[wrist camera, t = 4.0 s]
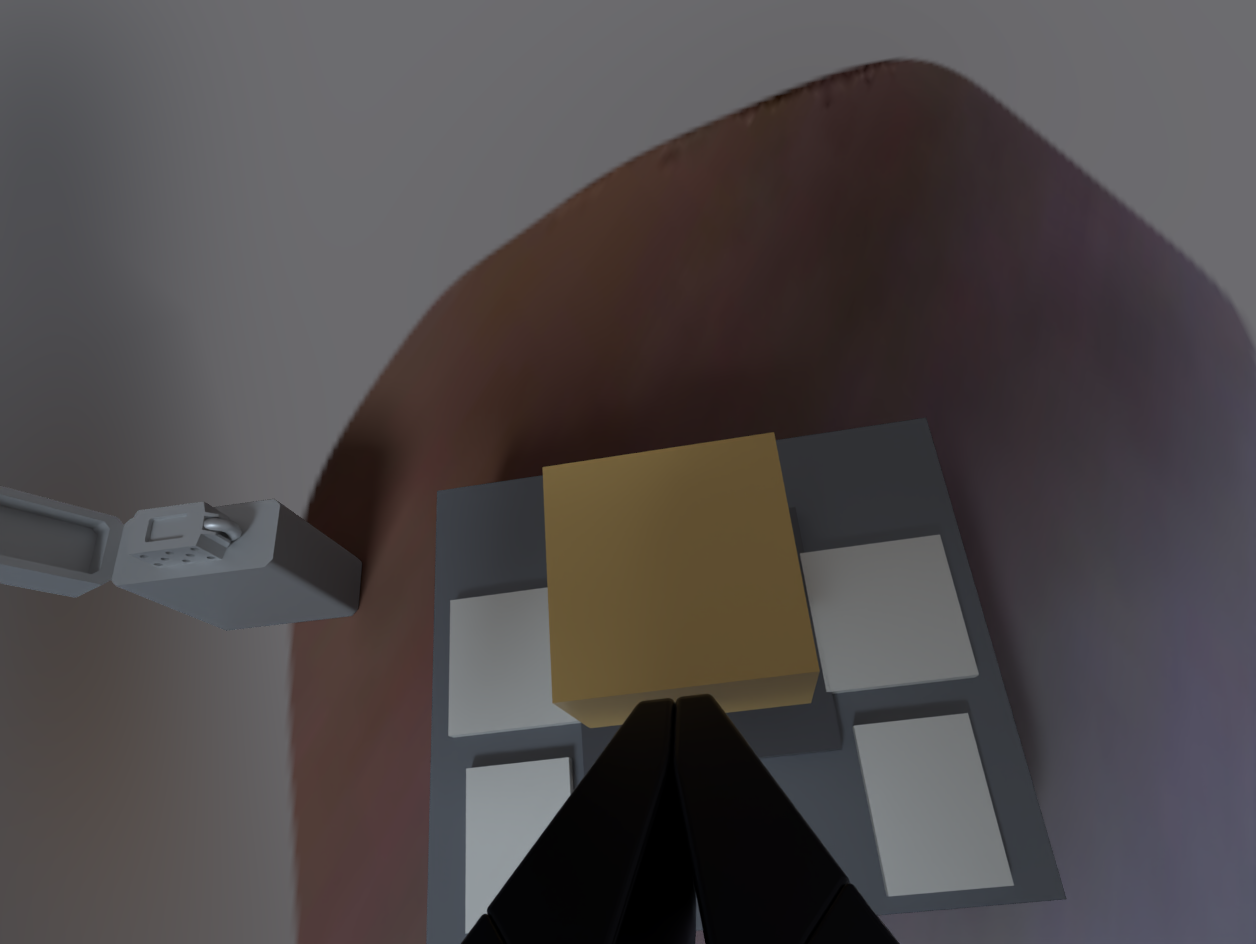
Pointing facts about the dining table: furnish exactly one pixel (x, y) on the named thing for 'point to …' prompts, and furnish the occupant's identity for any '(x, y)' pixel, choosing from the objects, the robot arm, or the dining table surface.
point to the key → (675, 581)
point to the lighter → (183, 558)
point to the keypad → (780, 736)
